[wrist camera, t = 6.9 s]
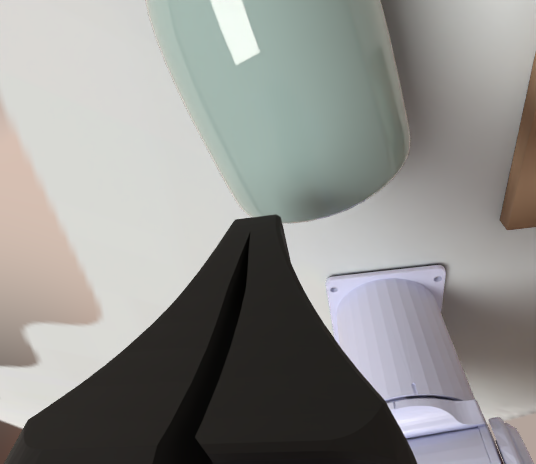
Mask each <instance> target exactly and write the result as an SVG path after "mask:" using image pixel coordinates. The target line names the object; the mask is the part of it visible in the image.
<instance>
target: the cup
mask: <svg viewBox="0 0 536 464" xmlns="http://www.w3.org/2000/svg"><path fill="white" fill-rule="evenodd" d="M145 2H146V7H147V11H148V16H149V19H150V22H151V25H152V28H153V31H154V35H155V38H156V41H157V43H158V46H159V48H160V51H161V53H162V56H163V59H164V61H165V64H166V66H167V68H168V71H169V73H170V75H171V77H172V80H173V82H174V84H175V86H176V89H177V91H178V93H179V95H180V97H181V99H182V101H183V103H184V105H185V107H186V109H187V111H188V113H189V115H190V117H191V119H192V121H193V123H194V125H195V127H196V129H197V131H198V133H199V135H200V137H201V139H202V141H203V142H204V144H205V146H206V148H207V150H208V152H209V154H210V156H211V157H212V159H213V161H214V163H215V165H216V167H217V169H218V170H219V172H220V174H221V176H222V178H223V180H224V181H225V183H226V185H227V187H228V189H229V190H230V192H231V194H232V196H233V197H234V199H235V201H236V202H237V204H238V205H239V207H240V208H241V209H242V210H243V211H244V212H245V213H246V214H248V215H249V216H250V217H259V216H267V215H275V214H277V215H278V216H280V217H281V220H282V223H299V222H308V221H313V220H317V219H321V218H326V217H329V216H332V215H335V214H338V213H340V212H343V211H346V210H348V209H350V208H352V207H354V206H356V205H358V204H360V203H362V202H364V201H365V200H367V199H368V198H370V197H371V196H373V195H374V194H376V193H377V192H379V191H380V190H381V189H382V188H383V187H385V186H386V185H387V184H388V183H389V182H390V181H391V180H392V179H393V178H394V177H395V176H396V174H397V173H398V172H399V171H400V169H401V168H402V167H403V165H404V163H405V161H406V159H407V157H408V155H409V150H410V144H411V138H410V129H409V123H408V118H407V113H406V108H405V103H404V98H403V94H402V89H401V84H400V79H399V75H398V70H397V66H396V61H395V57H394V52H393V48H392V43H391V39H390V35H389V31H388V27H387V23H386V18H385V15H384V11H383V7H382V3H381V0H145Z"/></svg>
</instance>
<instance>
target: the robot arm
mask: <svg viewBox="0 0 536 464" xmlns="http://www.w3.org/2000/svg"><path fill="white" fill-rule="evenodd" d="M438 276H439V277H438ZM435 277H437V278H435ZM445 277H446V270H445V268H444V267H443V266H441V265H433V266H423V267H414V268H405V269H396V270H387V271H378V272H369V273H360V274H351V275H342V276H333V277H329V278H327V280H326V288H327V294H328V300H329V306H330V313H331V319H332V325H333V331H334V337H335V339H334V337H333V336H332V334H331V333H330V332H329V330H328V329H327V327H326V326H325V325H324V323H323V322H322V320H321V318H320V317H319V315H318V314H317V312H316V311H315V309H314V307H313V306H312V304H311V302H310V300H309V299H308V297H307V295H306V293H305V292H304V290H303V288H302V286H301V284H300V282H299V280H298V278H297V276H296V274H295V271H294V269H293V267H292V265H291V262H290V257H289V252H288V248H287V243H286V239H285V234H284V229H283V225H282V220H281V217H280V216H278V215H277V214H275V215H267V216H259V217H252V218H244V219H237V220H235V221H234V222H233V223H232V225H231V226H230V228H229V229H228V231H227V232H226V234H225V235H224V237H223V238H222V240H221V241H220V243H219V244H218V246H217V247H216V249H215V250H214V251H213V253H212V254H211V256H210V257H209V258H208V260H207V261H206V263H205V264H204V265H203V267H202V268H201V269H200V271H199V272H198V273H197V275H196V276H195V277H194V278H193V280H192V281H191V282H190V283H189V285H188V286H187V287H186V288H185V290H184V291H183V292H182V293H181V294H180V296H179V297H178V298H177V299H176V300H175V301H174V302H173V303H172V305H171V306H170V307H169V308H168V309H167V310H166V311H165V312H164V313H163V314H162V315H161V316H160V317H159V318H158V319H157V320H156V321H155V322H154V323H153V324H152V325H151V326H150V327H149V328H148V329H146V330H145V331H144V332H143V333H142V334H141V335H140V336H139V337H138V338H137V339H135V340H134V341H133V342H132V343H131V344H130V345H129V346H128V347H127V348H125V349H124V350H123V351H122V352H121V353H120V354H118V355H117V356H116V357H115V358H113V359H112V360H111V361H110V362H109V363H107V364H106V365H105V366H104V367H102V368H101V369H100V370H98V371H97V372H96V373H94V374H93V375H92V376H91V377H89V378H88V379H87V380H85V381H84V382H83V383H81V384H80V385H78V386H77V387H76V388H74V389H73V390H71V391H70V392H68V393H67V394H66V395H64V396H63V397H61V398H60V399H58V400H57V401H55V402H54V403H53V404H51V405H50V406H48V407H47V408H45V409H44V410H42V411H41V412H39V413H38V414H36V415H35V416H33V417H32V418H30V419H29V420H28V421H27V423H26V424H25V426H24V428H23V430H22V432H21V434H20V435H19V437H18V439H17V441H16V443H15V444H14V446H13V448H12V450H11V452H10V453H9V455H8V457H7V459H6V461H5V463H4V464H503V461H504V464H534V463H533V461H532V459H531V457H530V454H529V452H528V450H527V448H526V446H525V444H524V442H523V440H522V438H521V436H520V434H519V432H518V431H517V429H516V428H515V427H513V426H511V425H509V424H508V423H504V421H503V420H502V419H501V418H500V417H495V418H491V419H489V422H490V425H491V427H492V430H493V432H494V434H495V437H496V443H497V446H498V449H499V451H500V454H501V456H502V459H503V461H502V459H501V456H500V454H499V451H498V449H497V446H496V444H495V441H494V439H493V437H492V434H491V432H490V430H489V427H488V425H487V423H486V421H485V418H484V416H483V414H482V411H481V409H480V407H479V405H478V402H477V401H476V400H475V398H474V395H473V393H472V390H471V388H470V385H469V383H468V380H467V378H466V375H465V373H464V370H463V368H462V365H461V363H460V360H459V358H458V355H457V353H456V350H455V348H454V345H453V343H452V340H451V337H450V335H449V332H448V330H447V327H446V325H445V322H444V320H443V317H442V315H441V311H442V303H443V294H444V285H445ZM333 287H335V288H333Z"/></svg>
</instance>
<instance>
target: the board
mask: <svg viewBox="0 0 536 464" xmlns="http://www.w3.org/2000/svg"><path fill="white" fill-rule="evenodd" d="M500 221H501V222H502V224H503V225H504V227H505V228H506V229H507V230H513V229H522V228H530V227H536V53H535V58H534V63H533V67H532V72H531V77H530V81H529V86H528V91H527V95H526V100H525V105H524V109H523V114H522V119H521V123H520V128H519V133H518V137H517V142H516V147H515V151H514V156H513V161H512V165H511V170H510V175H509V179H508V184H507V189H506V193H505V198H504V203H503V207H502V212H501V217H500Z"/></svg>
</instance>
